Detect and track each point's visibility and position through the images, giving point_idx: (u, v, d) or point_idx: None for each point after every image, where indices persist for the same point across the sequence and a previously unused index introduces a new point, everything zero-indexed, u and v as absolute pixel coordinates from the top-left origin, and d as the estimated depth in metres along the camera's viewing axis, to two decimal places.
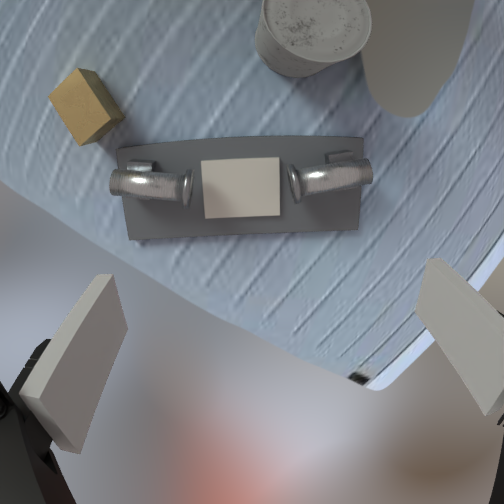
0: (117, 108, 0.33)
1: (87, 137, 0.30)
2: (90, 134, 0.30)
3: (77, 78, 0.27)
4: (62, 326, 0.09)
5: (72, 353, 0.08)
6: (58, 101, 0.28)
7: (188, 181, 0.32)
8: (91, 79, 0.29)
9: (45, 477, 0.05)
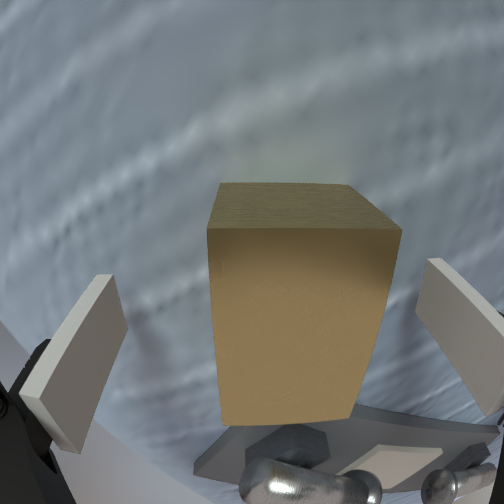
0: None
1: (260, 423, 0.11)
2: (274, 422, 0.11)
3: (373, 268, 0.08)
4: (62, 325, 0.09)
5: (72, 353, 0.08)
6: (242, 287, 0.08)
7: None
8: None
9: (45, 477, 0.05)
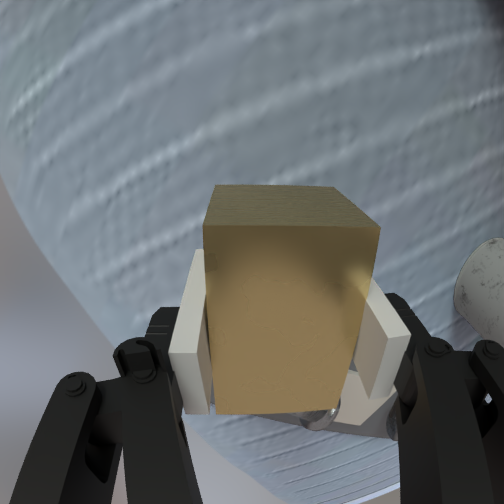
0: None
1: (252, 411, 0.12)
2: (265, 411, 0.12)
3: (354, 263, 0.09)
4: (184, 291, 0.11)
5: (204, 314, 0.10)
6: (234, 279, 0.09)
7: (335, 415, 0.23)
8: None
9: (183, 451, 0.06)
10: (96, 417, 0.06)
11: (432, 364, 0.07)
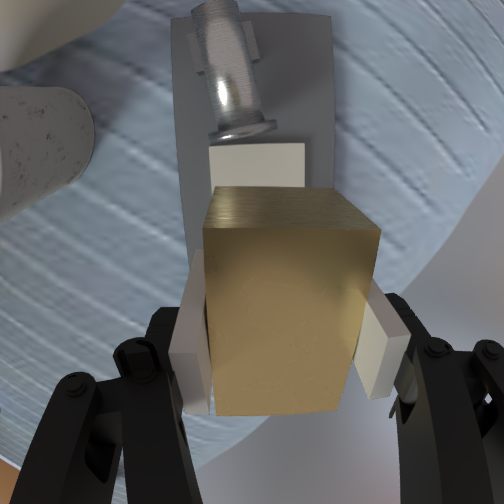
0: None
1: (252, 413, 0.12)
2: (265, 413, 0.12)
3: (354, 265, 0.09)
4: (184, 291, 0.11)
5: (205, 314, 0.10)
6: (234, 281, 0.09)
7: None
8: None
9: (184, 450, 0.06)
10: (96, 417, 0.06)
11: (432, 364, 0.07)
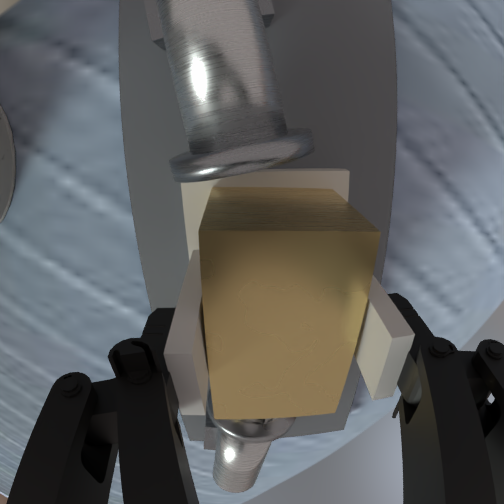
0: None
1: (250, 416, 0.12)
2: (263, 416, 0.12)
3: (353, 268, 0.09)
4: (181, 292, 0.11)
5: (201, 315, 0.10)
6: (230, 285, 0.09)
7: (228, 430, 0.12)
8: None
9: (179, 451, 0.06)
10: (91, 417, 0.06)
11: (436, 364, 0.07)
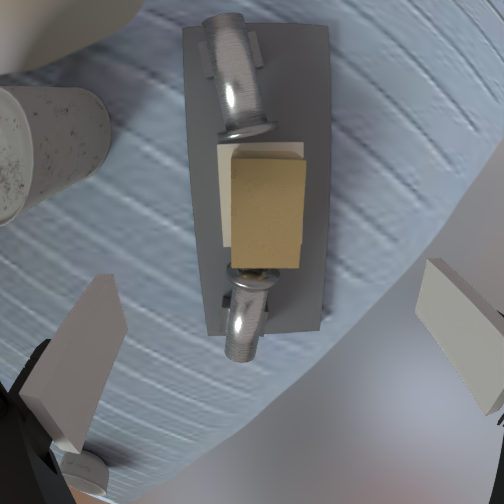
0: None
1: (251, 266, 0.24)
2: (258, 266, 0.24)
3: (295, 176, 0.21)
4: (62, 326, 0.09)
5: (72, 353, 0.08)
6: (243, 182, 0.21)
7: (238, 281, 0.24)
8: None
9: (45, 477, 0.05)
10: None
11: None
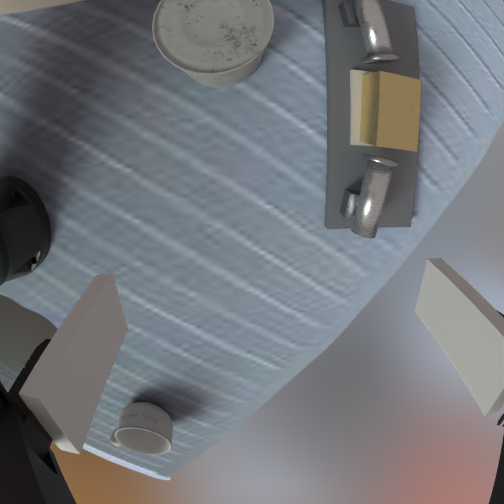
0: None
1: (388, 146, 0.29)
2: (393, 146, 0.29)
3: (415, 89, 0.26)
4: (62, 325, 0.09)
5: (72, 353, 0.08)
6: (386, 87, 0.27)
7: (378, 158, 0.30)
8: None
9: (45, 477, 0.05)
10: None
11: None
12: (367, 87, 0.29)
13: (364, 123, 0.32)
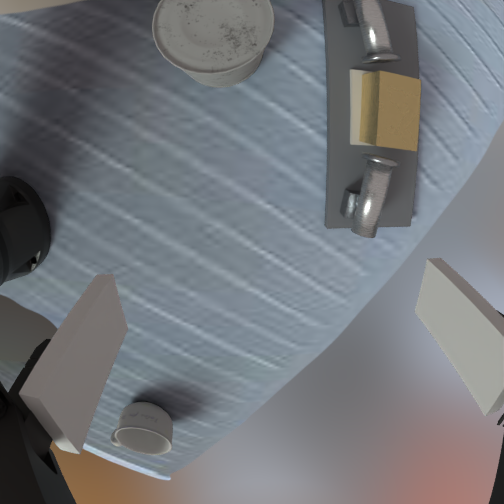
0: None
1: (388, 145, 0.29)
2: (393, 146, 0.29)
3: (415, 88, 0.26)
4: (62, 326, 0.09)
5: (72, 353, 0.08)
6: (386, 86, 0.27)
7: (378, 158, 0.30)
8: None
9: (45, 477, 0.05)
10: None
11: None
12: (367, 87, 0.29)
13: (364, 123, 0.32)
